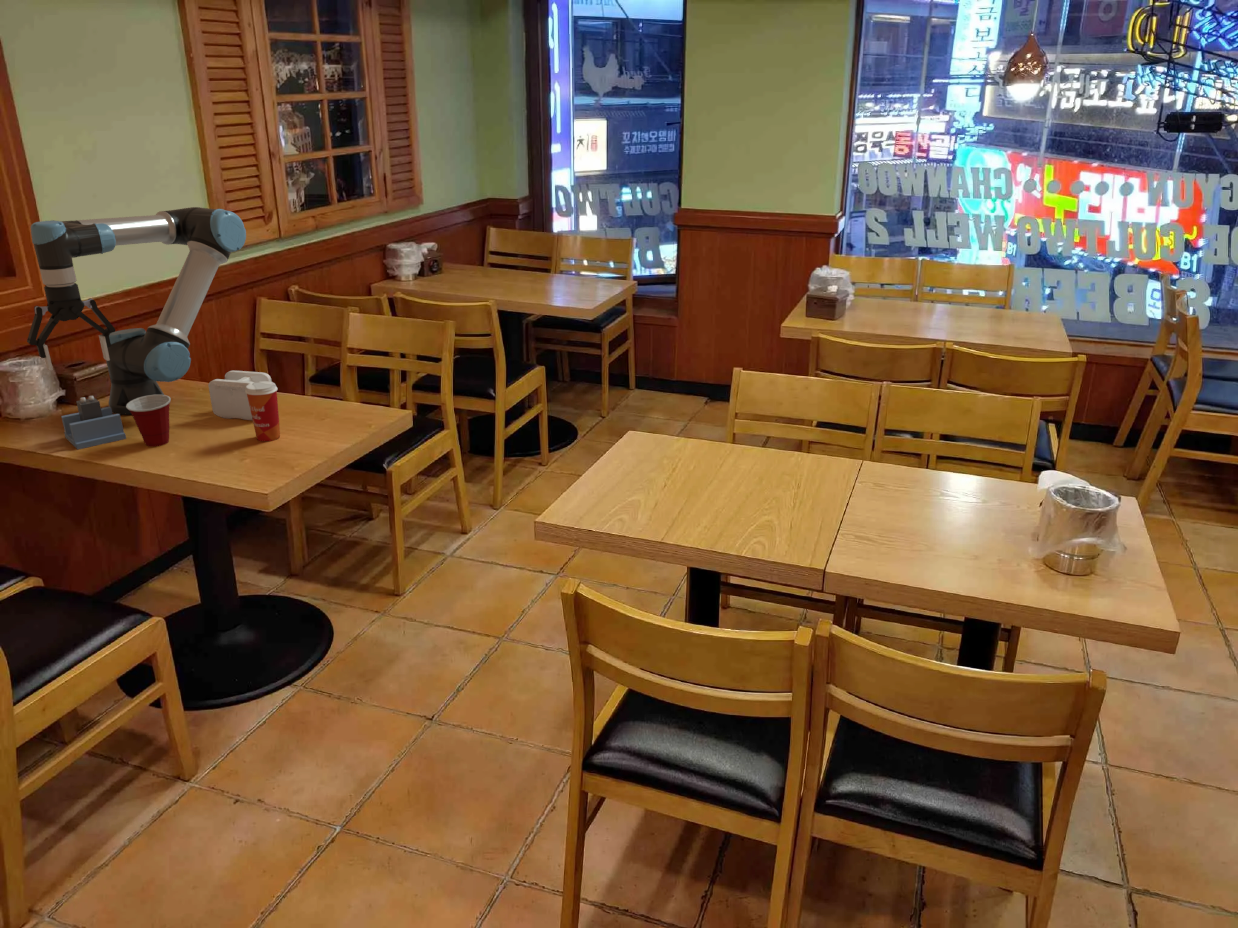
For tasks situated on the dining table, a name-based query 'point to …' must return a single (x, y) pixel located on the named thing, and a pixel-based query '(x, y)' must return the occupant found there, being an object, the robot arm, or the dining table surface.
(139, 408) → the plastic cup
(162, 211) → the robot arm
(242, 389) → the cable organizer
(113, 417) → the holder
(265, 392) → the coffee cup
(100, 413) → the plug
